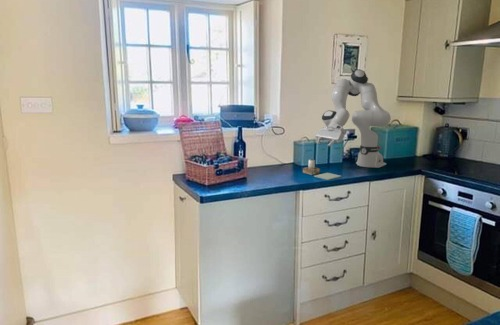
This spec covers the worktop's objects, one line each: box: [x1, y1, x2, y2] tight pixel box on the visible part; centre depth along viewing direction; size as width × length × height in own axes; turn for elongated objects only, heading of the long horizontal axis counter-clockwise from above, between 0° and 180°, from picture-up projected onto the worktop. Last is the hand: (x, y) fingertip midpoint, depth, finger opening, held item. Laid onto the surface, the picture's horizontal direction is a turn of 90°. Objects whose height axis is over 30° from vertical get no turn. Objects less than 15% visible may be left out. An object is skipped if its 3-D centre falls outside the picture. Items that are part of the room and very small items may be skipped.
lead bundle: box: [307, 158, 316, 170], centre depth 239 cm, size 4×4×9 cm
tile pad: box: [313, 172, 342, 181], centre depth 230 cm, size 13×11×1 cm
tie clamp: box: [302, 166, 321, 176], centre depth 240 cm, size 8×9×3 cm
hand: (323, 144), depth 245 cm, fingers open, 8 cm apart
